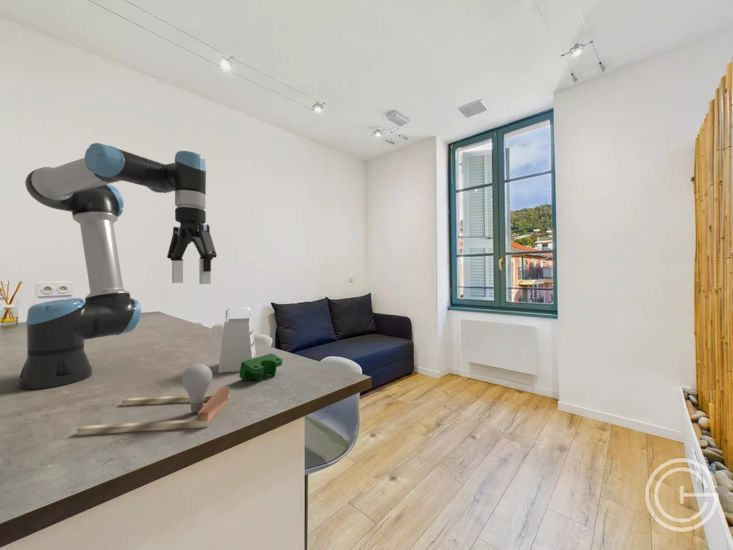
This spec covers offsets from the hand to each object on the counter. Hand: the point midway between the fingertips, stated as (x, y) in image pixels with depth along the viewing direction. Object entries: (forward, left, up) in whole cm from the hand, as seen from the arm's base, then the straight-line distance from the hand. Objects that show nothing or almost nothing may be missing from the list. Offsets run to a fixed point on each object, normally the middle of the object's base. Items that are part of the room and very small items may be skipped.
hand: (190, 283), depth 86 cm
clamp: (+19, +3, -29) cm, 35 cm away
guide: (+2, -19, -29) cm, 34 cm away
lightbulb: (+9, -19, -29) cm, 36 cm away
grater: (+9, +15, -29) cm, 34 cm away
